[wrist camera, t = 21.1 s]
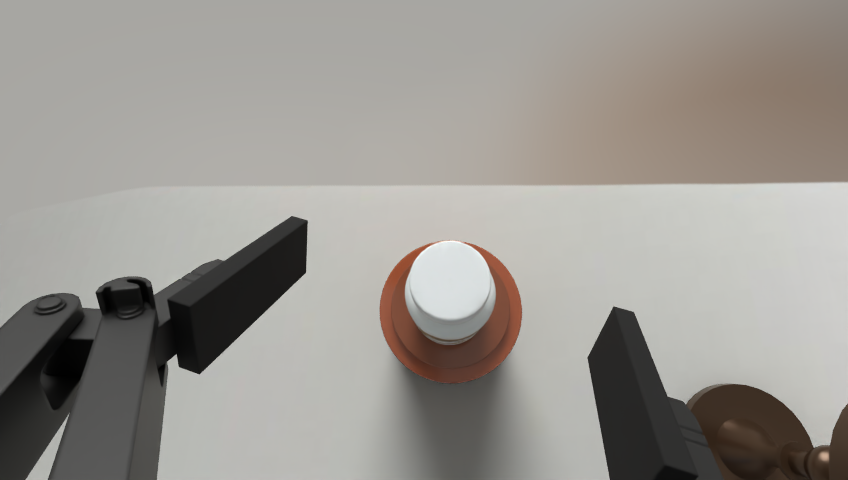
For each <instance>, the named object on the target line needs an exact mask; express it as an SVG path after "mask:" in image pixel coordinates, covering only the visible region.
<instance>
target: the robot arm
mask: <svg viewBox="0 0 848 480" xmlns="http://www.w3.org/2000/svg"><path fill="white" fill-rule="evenodd" d="M307 224H308V220H304V219H300V218H297V217H293V216H291V217H290V218H288V219H287V220H285V221H284V222H282V223H281V224H279V225H278V226H276V227H275V228H273V229H272V230H270V231H269V232H267V233H266V234H264V235H263V236H261V237H260V238H258V239H257V240H255V241H254V242H252V243H251V244H249V245H248V246H246V247H245V248H243V249H242V250H240V251H239V252H237V253H236V254H234V255H233V256H231V257H230V258H228V259H227V260H225V261H222V260H219V259H217V260H214V261H211V262H208V263H205V264H203V265H201V266H199V267H198V268H196V269H195V270H193V271H192V272H191V273H188V274H187V275H185V276H184V277H182V279H179V280H177V281H176V282H174V283H173V284H171V285H169V286H168V287H166V288H165V289H163V290H161V291H160V292H158V293H157V294H155V295H154V294H153V289H152V285H151V282H150V281H149V280H147V279H146V278H142V277H123V278H118V279H115V280H112V281H109V282H107V283H105V284H104V285H102V286H100V287H99V289H98V290H97V291H96V296H97V299H98V303H99V306H100V309H91V308H82V305H81V302H80V299H79V297H78V296H76V295H74V294H68V293H58V294H50V295H46V296H42V297H39V298H37V299H35V300H32V301H30V302H29V303H27V304H26V305H24V306H23V307H22V308H21V309H20V310H19V311H18V312H16V313H15V314H14V315H13V316H12V317H11V318H10V319H9V320H8V321H7V322H6V323H5V324H4V325H3V326H2V327H0V480H25V479H26V478H27V476H28V475H29V473H30V472H31V470H32V469H33V467H34V466H35V464H36V463H37V461H38V460H39V458H40V457H41V455H42V454H43V452H44V451H45V449H46V448H47V446H48V445H49V443H50V442H51V440H52V439H53V437H54V436H55V434H56V433H57V431H58V430H59V428H60V426H61V425H62V423H63V422H64V420H65V419H66V417H67V416H68V414H69V413H70V414H69V417H68V420H67V423H66V426H65V429H64V432H63V435H62V438H61V441H60V444H59V447H58V451H57V454H56V457H55V460H54V463H53V466H52V469H51V472H50V475H49V478H48V480H157V471H158V462H159V452H160V443H161V433H162V424H163V414H164V405H165V395H166V386H167V376H168V365H167V361H168V360H170V359H171V358H172V357H173V356H174V355H176V354H177V358H178V364H179V367H181V368H183V369H186V370H189V371H192V372H195V373H197V374H200V373H201V372H202V371H204V370H205V369H206V368H207V367H208V366H209V365H210V364H211V363H212V362H213V361H214V360H215V359H216V358H217V357H218V356H219V355H220V354H221V353H222V352H223V351H224V350H225V349H227V348H228V347H229V346H230V345H231V344H232V343H233V342H234V341H235V340H236V339H237V338H238V337H239V336H240V335H241V334H242V333H243V332H244V331H245V330H246V329H247V328H248V327H250V326H251V325H252V324H253V323H254V322H255V321H256V320H257V319H258V318H259V317H260V316H261V315H262V314H263V313H264V312H265V311H266V310H267V309H268V308H269V307H270V306H272V305H273V304H274V303H275V302H276V301H277V300H278V299H279V298H280V297H281V296H282V295H283V294H284V293H285V292H286V291H287V290H288V289H289V288H290V287H291V286H292V285H293V284H295V283H296V282H297V281H298V280H299V279H300V278H301V277H302V276H303V275H304V274H305V273H306V256H307ZM588 362H589V368H590V373H591V379H592V384H593V390H594V395H595V400H596V406H597V411H598V417H599V422H600V428H601V433H602V439H603V444H604V449H605V455H606V460H607V466H608V471H609V477H610V480H724V478H723V476H722V474H721V471H720V469H719V467H718V465H717V463H716V460H715V458H714V456H713V454H712V452H711V449H710V448H708V443H707V441H706V438H705V436H704V435H702V433H703V432H702V429H701V427H700V425H699V423H698V421H697V418H696V417H695V415H694V414H693V413H692V412H691V411H690V409H689V408H688V407H687V406H686V405H685V403H684V402H683V401H680V400H677V399H673V398H670V397H667V394H666V392H665V389H664V387H663V384H662V382H661V379H660V377H659V374H658V372H657V369H656V367H655V364H654V362H653V359H652V357H651V354H650V351H649V349H648V346H647V344H646V341H645V339H644V336H643V334H642V331H641V329H640V326H639V324H638V321H637V319H636V316H635V314H634V312H632V311H628V310H624V309H621V308H617V307H613V309H612V311H611V313H610V315H609V317H608V319H607V321H606V322H605V324H604V326H603V328H602V330H601V332H600V334H599V336H598V338H597V340H596V342H595V344H594V346H593V348H592V350H591V352H590V354H589V356H588Z"/></svg>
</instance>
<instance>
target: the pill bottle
mask: <svg viewBox="0 0 848 480" xmlns="http://www.w3.org/2000/svg"><path fill="white" fill-rule="evenodd" d="M495 300H496V289H495V284H494V280H493V277H492V275H491V273H490V270H489V267H488V265H487V263H486V261H485V259H484V258H483V257H482V255H481V254H480V253H479V252H478V251H477V250H475V249H474V248H472V247H471V246H469V245H467V244H464V243H461V242H457V241H443V242H439V243H436V244H433V245H431V246H429V247H427V248H426V249H425V250H424V251H422V252H421V253H420V254H419V256H418V257H417V258H416V260H415V261H414V263H413V265H412V267H411V270H410V273H409V275H408V278H407V281H406V285H405V301H406V305H407V308H408V311H409V313H410V315H411V317H412V319H413V320H414V322H415V323H416V325H417V326H418V328H419V329H420V331H421V332H422V333H423V334H424V335H425V336H426V337H427V338H429V339H430V340H432V341H434V342H436V343H439V344H444V345H455V344H459V343H463V342H465V341H467V340H469V339H470V338H472V337H473V336H474V335H475V334H476V333H477V332H478V331H479V330H480V329H481V328H482V327H483V326H484V324H485V323H486V322H487V321H488V319H489V317H490V315H491V313H492V311H493V309H494V305H495Z"/></svg>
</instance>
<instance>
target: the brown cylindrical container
mask: <svg viewBox="0 0 848 480" xmlns="http://www.w3.org/2000/svg"><path fill="white" fill-rule="evenodd" d="M448 241H449V240H448ZM439 242H443V241H438V242H434V243H430V244H427V245H424V246H422V247H419V248H417V249H415V250H414V251H412V252H411V253H409V254H408V255H407V256H405V257H404V258H403V259H402V260H401V261H400V262H399V263H398V264H397V265H396V266H395V268H394V269H393V270H392V272H391V273H390V275H389V277H388V279H387V281H386V283H385V285H384V288H383V291H382V295H381V300H380V321H381V327H382V330H383V334H384V337H385V339H386V341H387V343H388V345H389V347H390V349H391V350H392V352H393V353H394V355H395V356H396V357H397V358H398V359H399V361H400V362H402V363H403V364H404V365H405V366H406V367H407V368H408V369H410V370H411V371H413V372H414V373H416V374H418V375H420V376H422V377H424V378H427V379H429V380H432V381H435V382H440V383H448V384H453V383H462V382H467V381H471V380H474V379H477V378H480V377H482V376H484V375H486V374H487V373H489V372H491V371H492V370H493V369H495V368H496V367H497V366H498V365H499V364H500V363H501V362H503V361H504V359H505V358H506V357H507V356H508V354H509V353H510V351H511V350H512V348H513V346H514V345H515V342H516V340H517V337H518V335H519V331H520V327H521V320H522V305H521V299H520V295H519V291H518V288H517V286H516V283H515V281H514V279H513V277H512V276H511V274H510V272H509V271H508V270H507V268H506V267H505V266H504V265H503V264H502V263H501V262H500V261H499V260H498V259H497V258H496V257H495V256H493V255H492V254H491V253H489V252H488V251H486V250H484V249H483V248H480V247H478V246H476V245H473V244H470V243H466V242H461V241H457V242H461V243H464V244H467V245H469V246H471V247H472V248H474V249H475V250H477V251H478V252H479V253H480V254H481V255H482V257H483V258H484V259H485V261H486V263H487V265H488V267H489V270H490V273H491V275H492V277H493V280H494V284H495V289H496V300H495V305H494V309H493V311H492V313H491V315H490V317H489V319H488V321H487V322H486V323H485V324H484V326H483V327H482V328H481V329H480V330H479V331H478V332H477V333H476V334H475V335H474V336H473V337H472V338H470V339H469V340H467V341H465V342H463V343H459V344H455V345H444V344H439V343H436V342H434V341H432V340H430V339H429V338H427V337H426V336H425V335H424V334H423V333H422V332H421V331H420V329H419V328H418V326H417V325H416V323H415V322H414V320H413V319H412V317H411V315H410V313H409V311H408V308H407V305H406V301H405V285H406V281H407V278H408V275H409V273H410V270H411V267H412V265H413V263H414V261H415V260H416V258H417V257H418V256H419V254H420V253H421V252H422V251H424V250H425V249H426V248H427V247H429V246H431V245H433V244H436V243H439Z"/></svg>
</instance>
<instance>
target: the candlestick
mask: <svg viewBox="0 0 848 480" xmlns="http://www.w3.org/2000/svg"><path fill="white" fill-rule="evenodd" d="M686 406H687V407H688V408H689V409H690V411H691V412H692V413H693V414H694V415H695V417H696V418H697V421H698V423H699V425H700V427H701V429H702V432H703V433H702V435H704V436H705V438H706V441H707V443H708V448H710V449H711V452H712V454H713V456H714V458H715V460H716V463H717V465H718V467H719V469H720V471H721V474H722V476H723V478H724V480H848V404H847V405H846V407H845V408H844V409H843V410H842V412H841V414H840V416H839V419H838V421H837V423H836V425H835V427H834V429H833V434H832V439H831V444H830V445H821V446H818V447H815V448H813V445H812V443H811V440H810V437H809V435H808V434H807V432H806V430H805V428H804V427H803V425H802V423H801V422H800V421H799V420H798V418H797V417H796V416H795V415H794V413H793V412H792V411H791V410H790V409H788V408H787V407H786V406H785V405H784V404H783V403H782V402H781V401H779V400H778V399H776V398H775V397H773V396H772V395H770V394H768V393H766V392H764V391H762V390H760V389H757V388H754V387H750V386H747V385H738V384H718V385H713V386H710V387H707V388H704V389H702V390H701V391H699V392H698V393H696V394H695V395H694V396H693V397H692V398H691V399H690V400H689V401H688V403H687V404H686Z"/></svg>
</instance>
